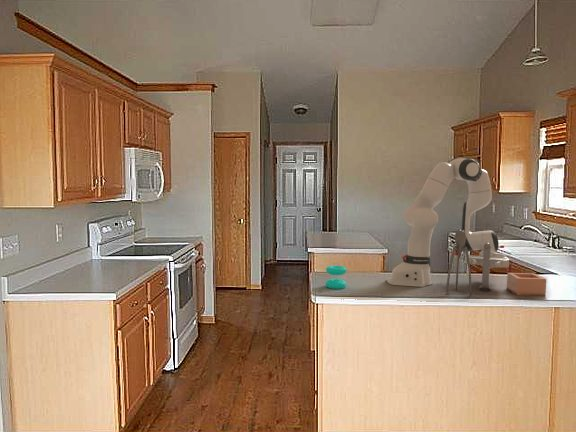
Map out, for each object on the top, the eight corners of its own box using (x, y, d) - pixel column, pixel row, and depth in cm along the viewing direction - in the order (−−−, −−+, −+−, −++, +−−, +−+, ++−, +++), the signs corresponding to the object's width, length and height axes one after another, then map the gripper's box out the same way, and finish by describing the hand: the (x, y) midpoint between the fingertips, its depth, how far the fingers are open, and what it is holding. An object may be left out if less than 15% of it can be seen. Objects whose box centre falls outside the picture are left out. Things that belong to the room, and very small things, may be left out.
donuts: (342, 264, 260) (349, 268, 251) (341, 284, 261) (349, 289, 252) (323, 265, 258) (330, 269, 248) (322, 285, 258) (329, 290, 249)
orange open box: (516, 295, 243) (517, 278, 243) (506, 288, 256) (507, 272, 256) (545, 296, 243) (546, 279, 242) (533, 289, 256) (534, 273, 255)
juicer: (471, 295, 241) (474, 231, 238) (446, 294, 244) (448, 230, 241) (468, 291, 251) (471, 228, 248) (444, 289, 253) (446, 227, 250)
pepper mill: (479, 290, 252) (481, 243, 250) (479, 288, 257) (482, 242, 254) (490, 291, 250) (492, 244, 248) (490, 289, 255) (493, 242, 253)
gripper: (466, 251, 268) (463, 255, 255) (509, 254, 260) (509, 258, 247) (465, 263, 268) (463, 268, 256) (508, 267, 260) (508, 272, 248)
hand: (486, 263), depth 251 cm, fingers open, 8 cm apart
